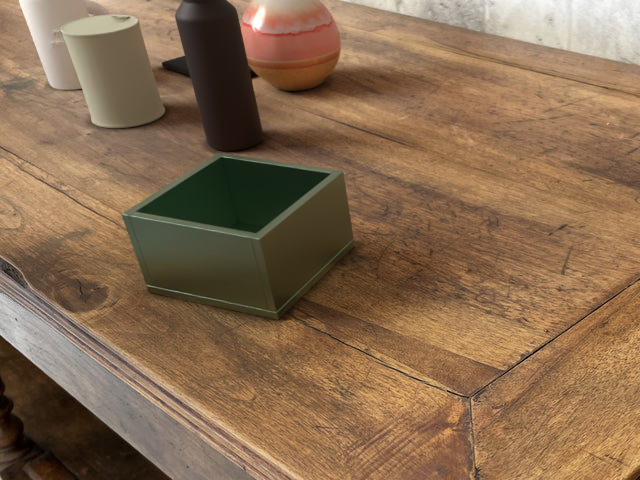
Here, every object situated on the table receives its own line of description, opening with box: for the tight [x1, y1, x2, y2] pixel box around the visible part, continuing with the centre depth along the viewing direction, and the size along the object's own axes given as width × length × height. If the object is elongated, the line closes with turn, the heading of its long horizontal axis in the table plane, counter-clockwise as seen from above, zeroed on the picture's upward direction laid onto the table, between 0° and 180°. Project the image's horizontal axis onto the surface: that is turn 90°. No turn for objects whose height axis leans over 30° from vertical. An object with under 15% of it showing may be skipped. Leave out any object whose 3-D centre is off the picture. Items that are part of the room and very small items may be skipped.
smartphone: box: [161, 55, 257, 77], centre depth 120 cm, size 7×1×15 cm
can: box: [61, 14, 166, 129], centre depth 102 cm, size 9×9×12 cm
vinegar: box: [174, 0, 264, 152], centre depth 93 cm, size 7×7×20 cm
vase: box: [240, 0, 342, 92], centre depth 110 cm, size 14×14×18 cm
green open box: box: [121, 152, 356, 321], centre depth 72 cm, size 14×14×8 cm
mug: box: [18, 0, 113, 91], centre depth 115 cm, size 8×12×12 cm
